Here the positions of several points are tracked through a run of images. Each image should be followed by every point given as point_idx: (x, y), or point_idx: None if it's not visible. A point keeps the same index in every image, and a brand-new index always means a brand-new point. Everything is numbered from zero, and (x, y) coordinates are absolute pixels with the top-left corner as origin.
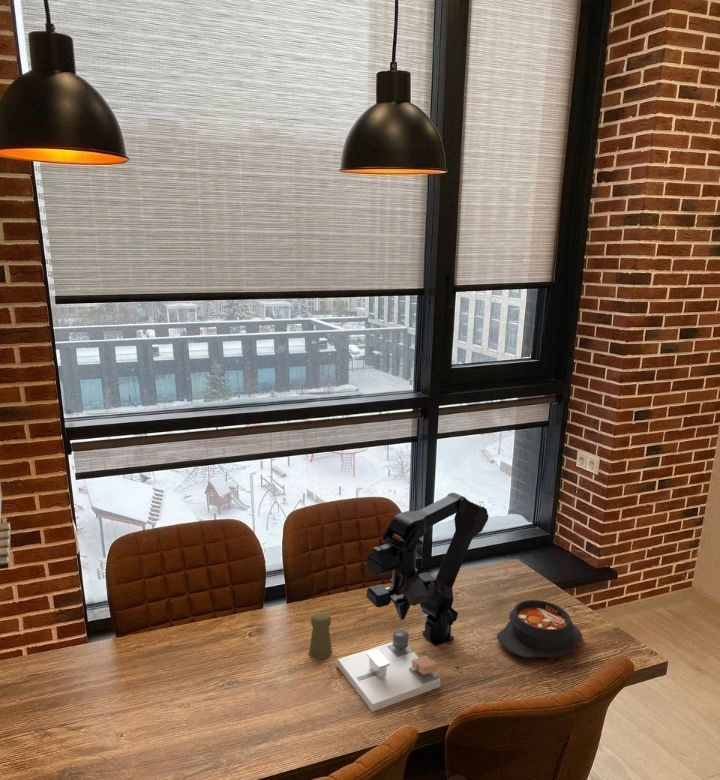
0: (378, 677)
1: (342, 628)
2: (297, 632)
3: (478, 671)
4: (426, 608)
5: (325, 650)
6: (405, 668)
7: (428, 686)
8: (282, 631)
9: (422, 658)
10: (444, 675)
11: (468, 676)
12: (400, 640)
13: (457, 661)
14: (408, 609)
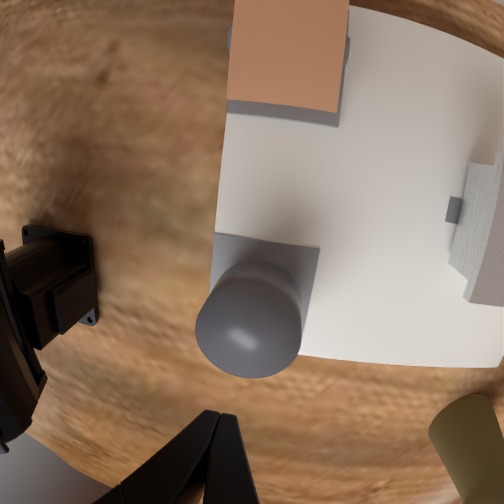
0: None
1: (326, 470)
2: (424, 486)
3: (66, 33)
4: (8, 369)
5: (484, 414)
6: (345, 150)
7: None
8: (440, 492)
9: (264, 82)
10: (179, 55)
11: (109, 19)
12: (284, 297)
13: (79, 109)
14: (132, 476)
